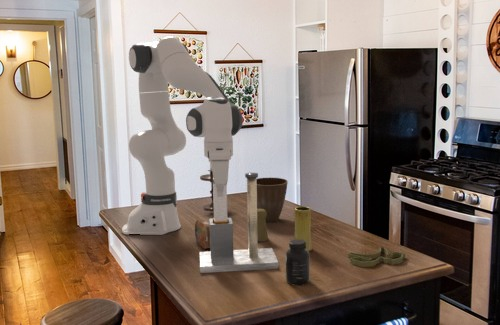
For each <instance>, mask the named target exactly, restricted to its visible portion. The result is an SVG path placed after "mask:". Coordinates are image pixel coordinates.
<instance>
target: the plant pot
mask: <svg viewBox="0 0 500 325" xmlns="http://www.w3.org/2000/svg"><path fill="white" fill-rule="evenodd" d="M288 182H289V181H288V180H287V179H285V178H281V177H259V178H258V177H257V209H264V210H266V212H267V216H266V218H265V220H266V222H267V223H273V222H277V221H279V219H280V216H281V214H282V210H283V207H284V204H285V199H286V194H287V189H288Z"/></svg>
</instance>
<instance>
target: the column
mask: <svg viewBox="0 0 500 325" xmlns="http://www.w3.org/2000/svg"><path fill="white" fill-rule="evenodd" d="M227 186H228V184H227V185H226V186H224V189H223V196H222V197H218V196H217V186H215V183H214V177H213V199H214V211H213V219H214V224H218V223H228V219H227V218H228V191H227V188H228V187H227Z"/></svg>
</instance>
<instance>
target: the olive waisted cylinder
mask: <svg viewBox="0 0 500 325" xmlns="http://www.w3.org/2000/svg"><path fill="white" fill-rule="evenodd" d="M266 216H267V212H266V210H264V209H257V231H258V242H265V241H268V240H269V235H268V234H269V233H268V227H267V223H266V220H265V218H266Z"/></svg>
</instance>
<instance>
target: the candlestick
mask: <svg viewBox="0 0 500 325" xmlns="http://www.w3.org/2000/svg"><path fill="white" fill-rule="evenodd" d="M207 171H208V172H209V174H202V175H200V176H199V178H200V179H199V180H201V181H205V182H210V185H211V187H210V188H211V189H210V191H209V193H210V194H211V196H210V198H211V203H208V204H205V205H203V206H202V208H203V209H202V210H205V211H208V210H210V211H211V212H214V199H213V172H212V165H211V162H209V169H208V170H207Z"/></svg>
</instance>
